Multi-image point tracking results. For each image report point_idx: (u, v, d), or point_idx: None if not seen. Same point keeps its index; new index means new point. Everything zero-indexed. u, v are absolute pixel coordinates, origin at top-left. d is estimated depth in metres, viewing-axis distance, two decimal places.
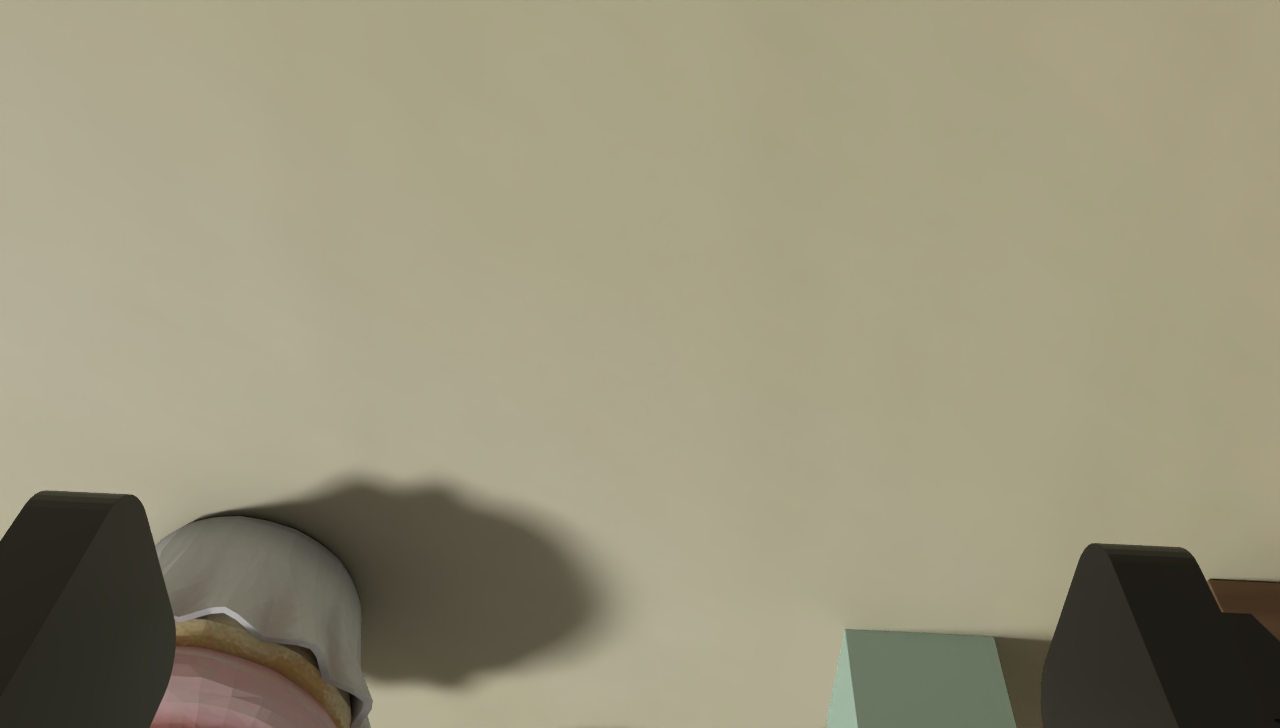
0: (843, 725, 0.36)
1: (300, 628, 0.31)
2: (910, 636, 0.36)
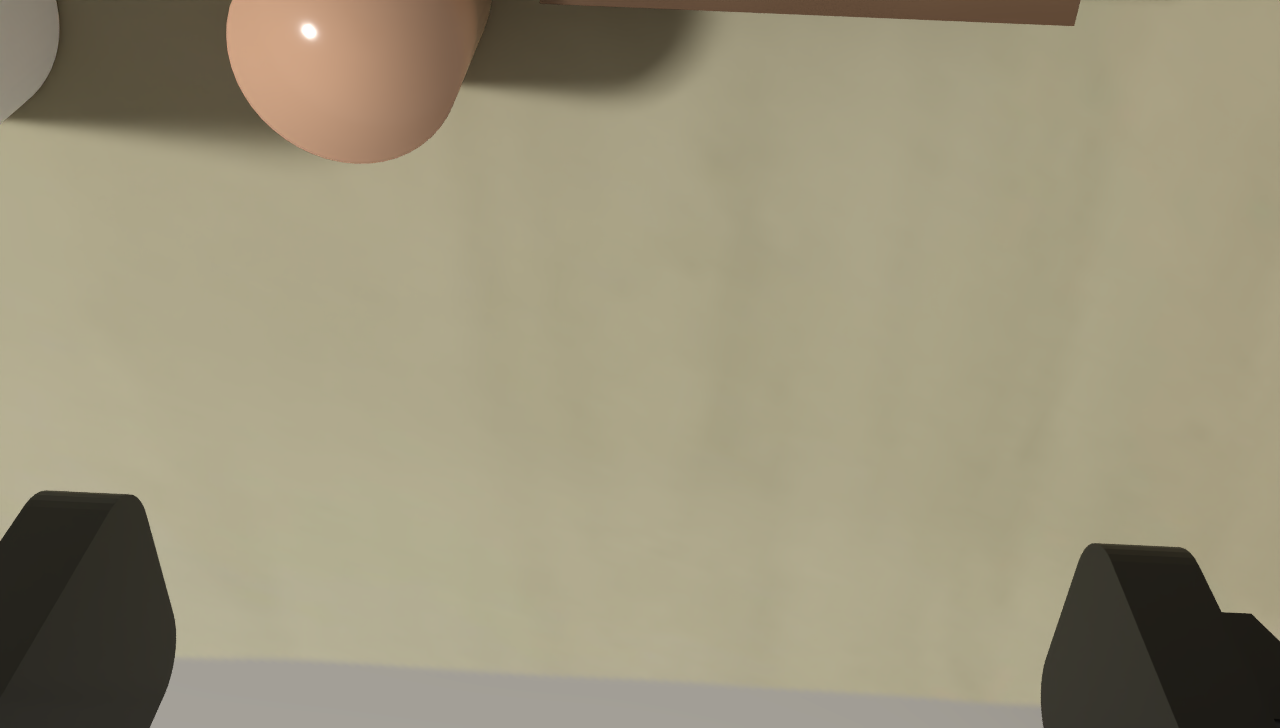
0: None
1: None
2: None
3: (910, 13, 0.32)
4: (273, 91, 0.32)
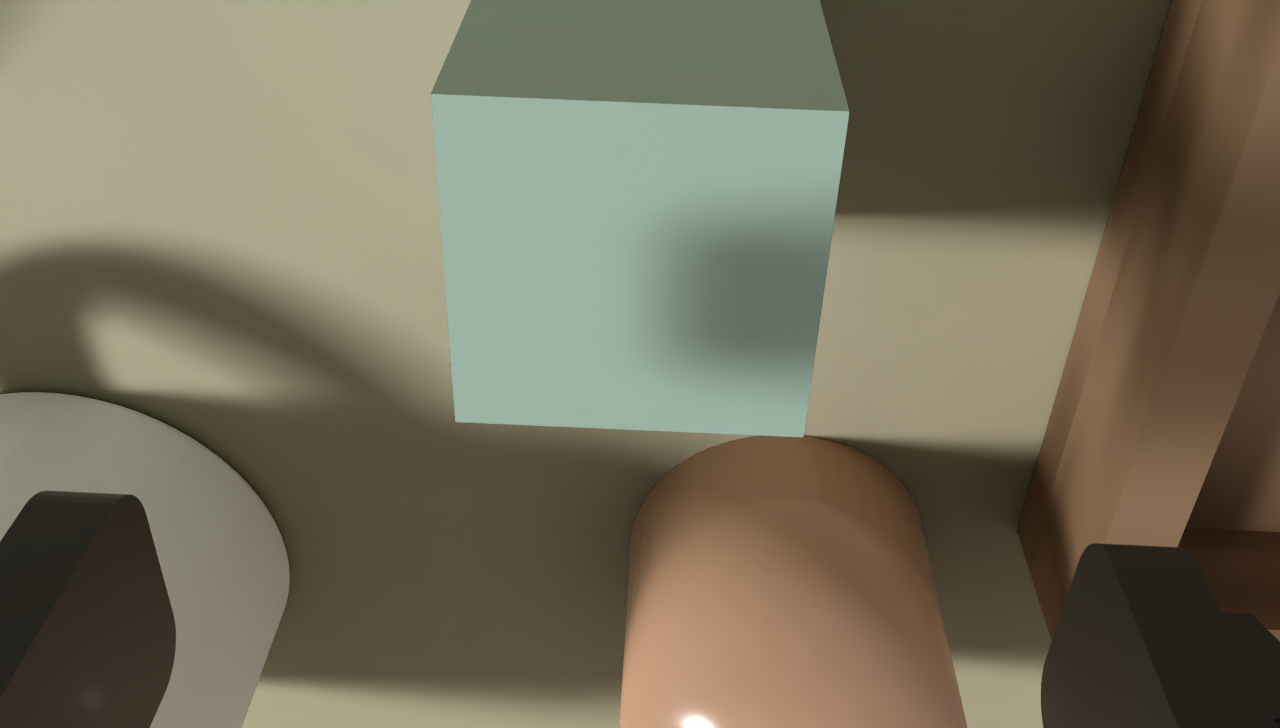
0: None
1: None
2: None
3: None
4: None
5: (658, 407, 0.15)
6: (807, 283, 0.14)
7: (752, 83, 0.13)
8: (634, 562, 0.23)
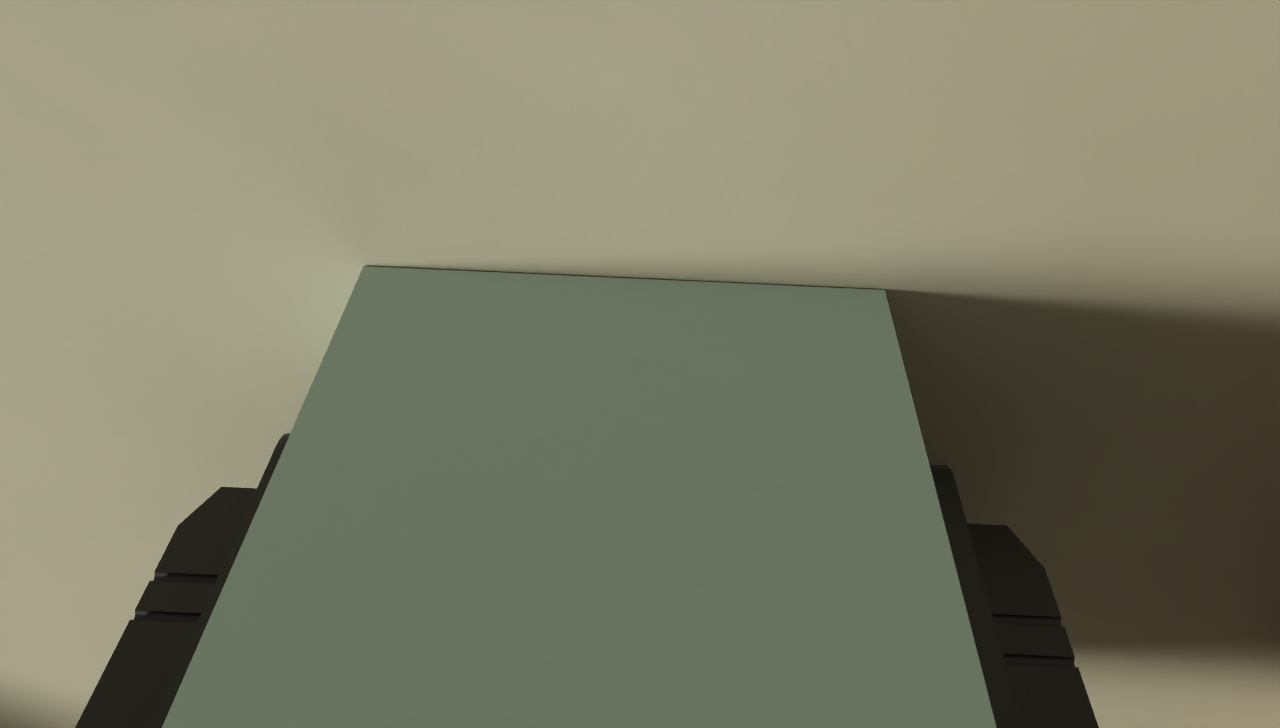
0: None
1: None
2: (587, 287, 0.10)
3: None
4: None
5: None
6: None
7: None
8: None
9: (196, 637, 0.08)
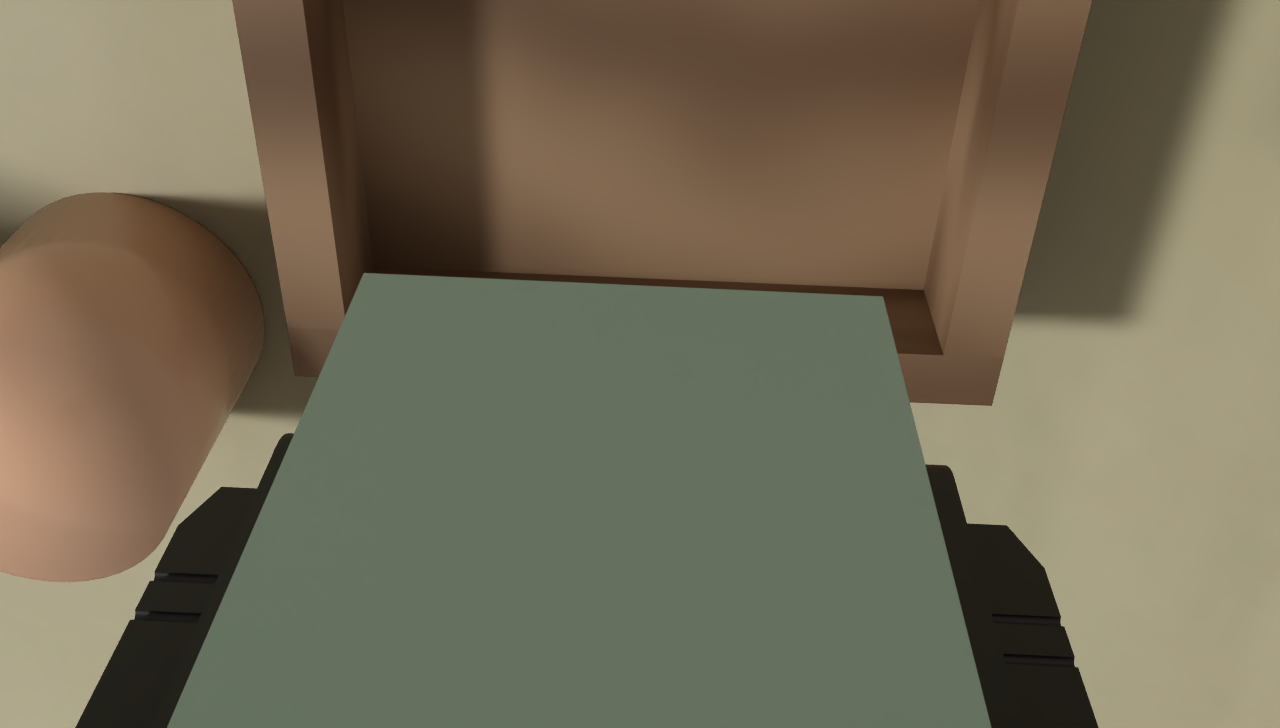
0: None
1: None
2: (587, 293, 0.10)
3: None
4: None
5: None
6: None
7: None
8: None
9: (196, 637, 0.08)
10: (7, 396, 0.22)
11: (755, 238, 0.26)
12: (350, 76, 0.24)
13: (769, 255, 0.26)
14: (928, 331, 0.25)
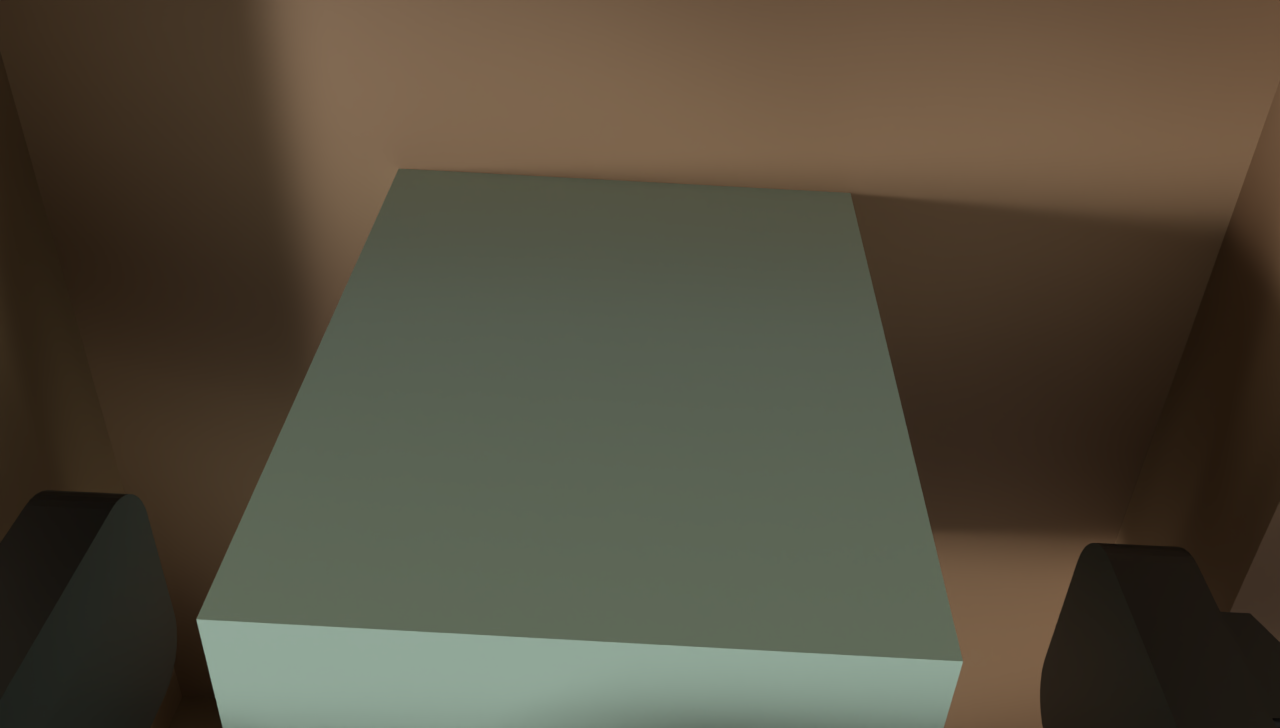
0: None
1: None
2: (593, 186, 0.12)
3: None
4: None
5: None
6: None
7: (783, 573, 0.08)
8: None
9: None
10: None
11: None
12: (109, 457, 0.14)
13: None
14: None
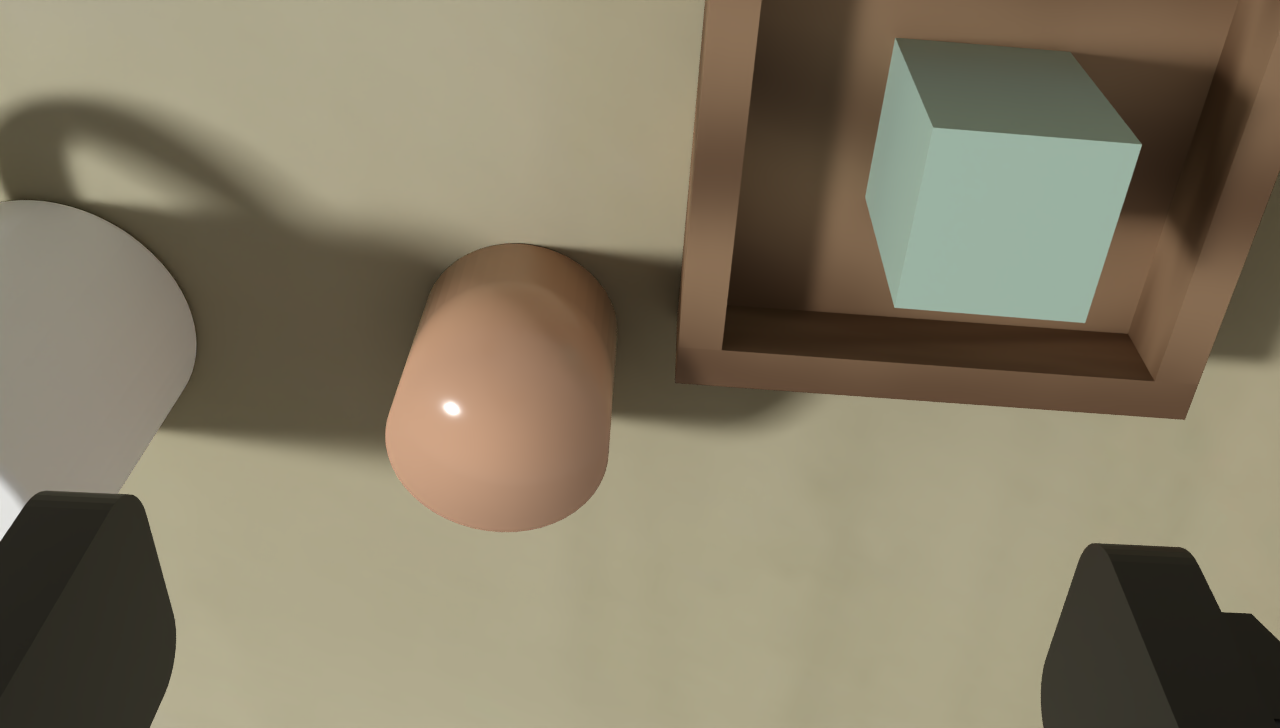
0: (892, 140, 0.30)
1: None
2: (972, 46, 0.31)
3: (1029, 403, 0.34)
4: (421, 467, 0.33)
5: (1009, 302, 0.28)
6: (1104, 234, 0.27)
7: (1087, 128, 0.26)
8: None
9: None
10: (512, 394, 0.31)
11: None
12: None
13: None
14: (1139, 364, 0.34)
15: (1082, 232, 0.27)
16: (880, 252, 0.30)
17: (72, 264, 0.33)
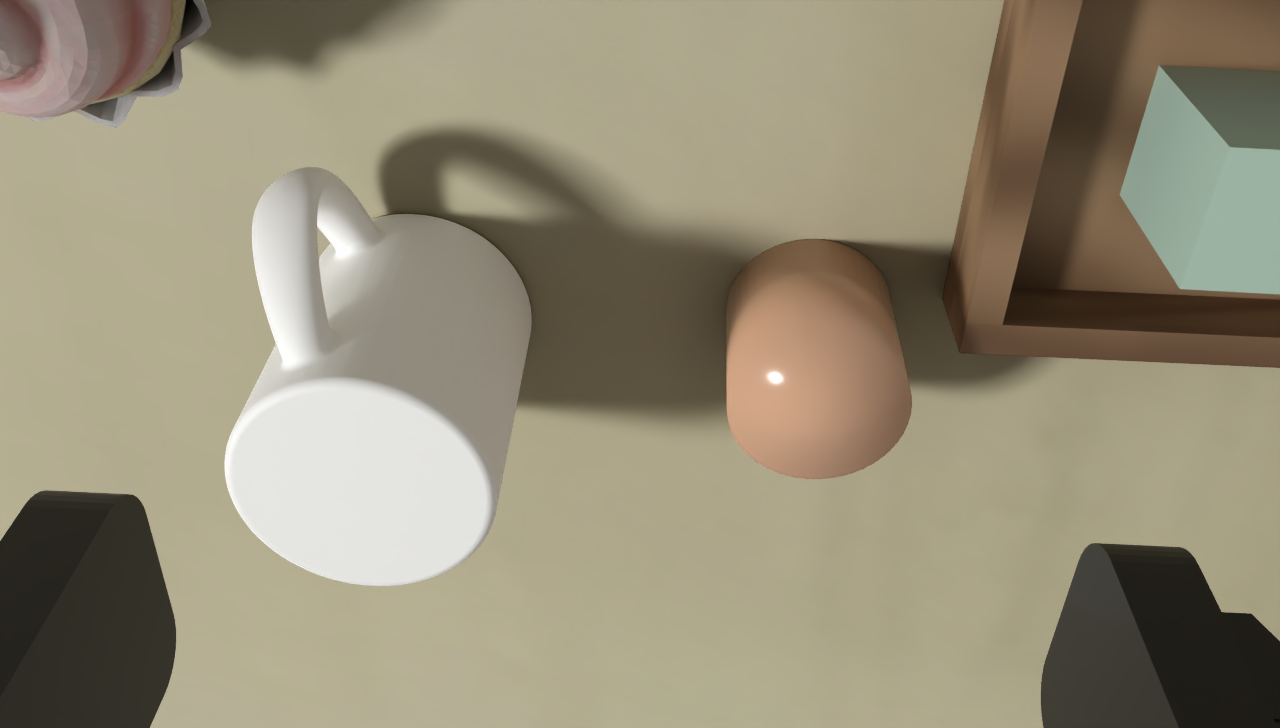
0: (1162, 150, 0.37)
1: None
2: (1223, 70, 0.37)
3: (1255, 362, 0.41)
4: (752, 422, 0.40)
5: (1274, 282, 0.35)
6: None
7: None
8: (735, 300, 0.42)
9: None
10: (840, 365, 0.38)
11: None
12: None
13: None
14: None
15: None
16: (1151, 242, 0.37)
17: (461, 268, 0.40)
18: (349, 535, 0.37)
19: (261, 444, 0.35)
